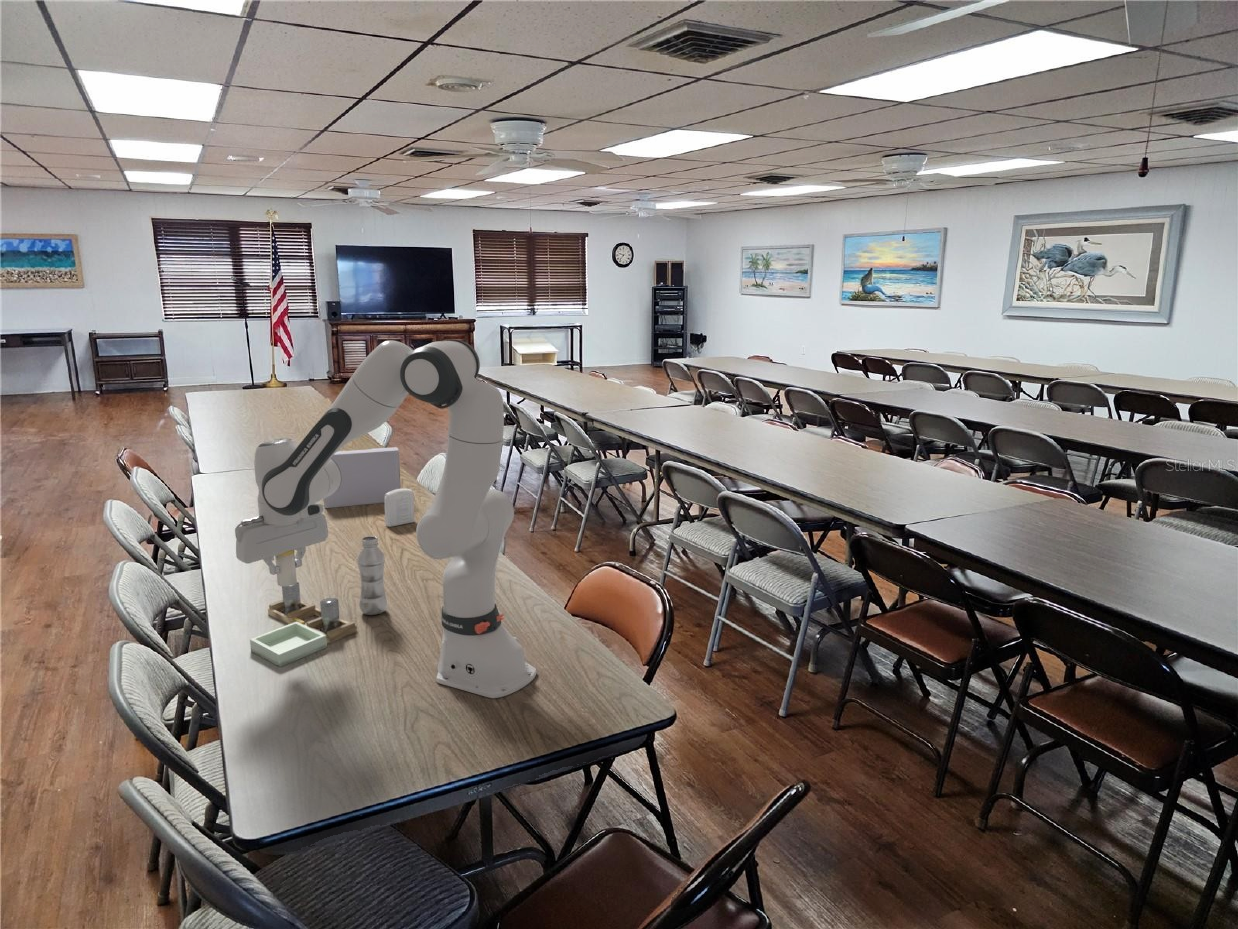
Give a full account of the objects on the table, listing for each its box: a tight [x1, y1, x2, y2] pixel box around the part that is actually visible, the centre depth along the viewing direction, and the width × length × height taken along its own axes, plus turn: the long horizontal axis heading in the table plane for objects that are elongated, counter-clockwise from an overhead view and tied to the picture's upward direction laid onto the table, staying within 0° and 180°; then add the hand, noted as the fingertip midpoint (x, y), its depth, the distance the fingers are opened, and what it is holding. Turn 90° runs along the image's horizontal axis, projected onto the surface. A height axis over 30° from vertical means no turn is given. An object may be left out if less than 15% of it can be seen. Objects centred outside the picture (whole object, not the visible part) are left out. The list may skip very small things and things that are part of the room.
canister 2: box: [319, 597, 340, 634], centre depth 181 cm, size 4×4×8 cm
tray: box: [249, 622, 328, 668], centre depth 173 cm, size 12×12×3 cm
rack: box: [267, 599, 358, 644], centre depth 186 cm, size 25×8×2 cm, turn 55°
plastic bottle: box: [356, 535, 388, 616], centre depth 190 cm, size 6×7×20 cm
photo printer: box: [384, 487, 416, 528], centre depth 259 cm, size 10×4×12 cm, turn 134°
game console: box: [322, 446, 402, 509], centre depth 281 cm, size 6×27×20 cm, turn 115°
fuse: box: [274, 550, 298, 587], centre depth 170 cm, size 4×4×8 cm
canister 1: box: [281, 581, 302, 616], centre depth 190 cm, size 4×4×8 cm
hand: (286, 570), depth 170 cm, fingers closed on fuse, 4 cm apart
